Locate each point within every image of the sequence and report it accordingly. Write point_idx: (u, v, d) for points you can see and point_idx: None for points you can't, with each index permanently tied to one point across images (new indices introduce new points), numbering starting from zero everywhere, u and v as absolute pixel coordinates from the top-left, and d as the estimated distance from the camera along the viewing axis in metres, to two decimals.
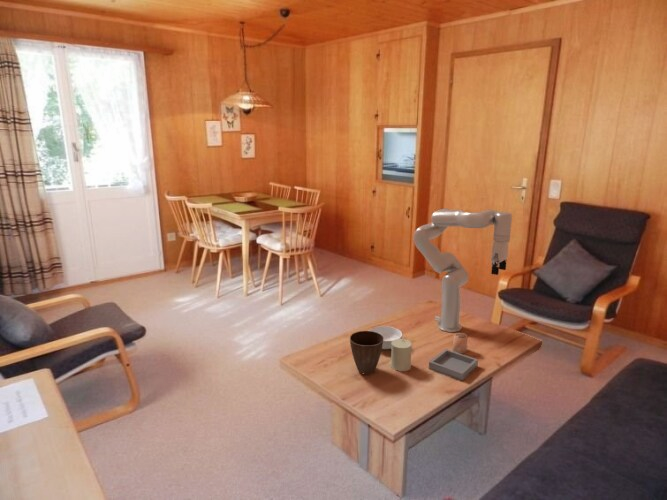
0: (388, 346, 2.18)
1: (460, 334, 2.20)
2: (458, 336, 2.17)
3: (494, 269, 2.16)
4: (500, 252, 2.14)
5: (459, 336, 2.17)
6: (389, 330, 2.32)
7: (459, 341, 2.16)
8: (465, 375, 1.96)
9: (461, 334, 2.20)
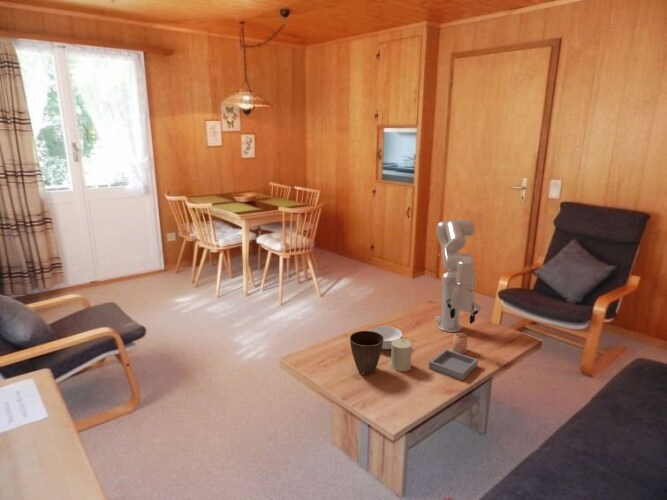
0: (388, 346, 2.18)
1: (460, 334, 2.20)
2: (458, 336, 2.17)
3: (474, 317, 2.11)
4: (474, 299, 2.11)
5: (459, 336, 2.17)
6: (389, 330, 2.32)
7: (459, 341, 2.16)
8: (465, 375, 1.96)
9: (461, 334, 2.20)
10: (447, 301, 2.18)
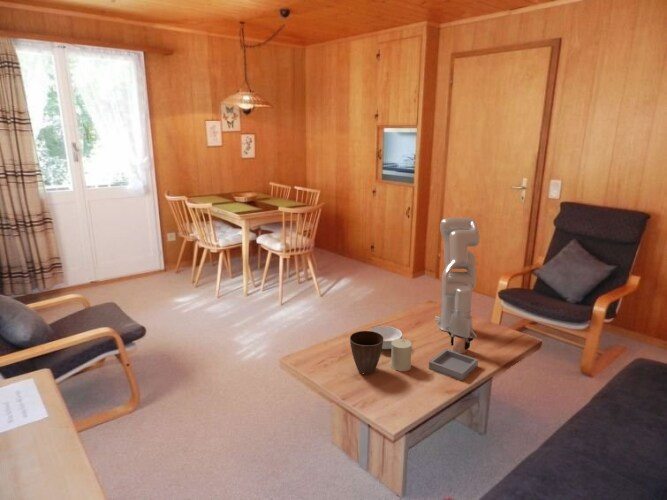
0: (388, 346, 2.18)
1: None
2: (458, 336, 2.17)
3: (469, 344, 2.16)
4: (472, 325, 2.15)
5: (459, 336, 2.17)
6: (389, 330, 2.32)
7: (459, 341, 2.16)
8: (465, 375, 1.96)
9: None
10: (447, 329, 2.22)
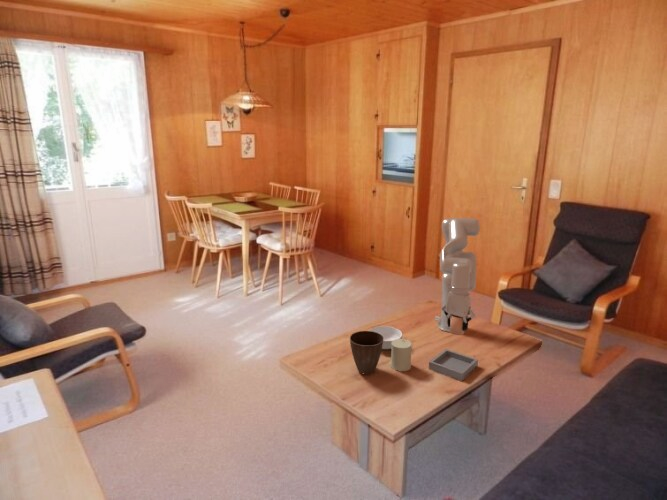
0: (388, 346, 2.18)
1: None
2: (455, 316, 2.01)
3: (467, 324, 2.00)
4: (470, 304, 1.99)
5: (456, 316, 2.01)
6: (389, 330, 2.32)
7: (456, 321, 1.99)
8: (465, 375, 1.96)
9: None
10: (443, 309, 2.05)
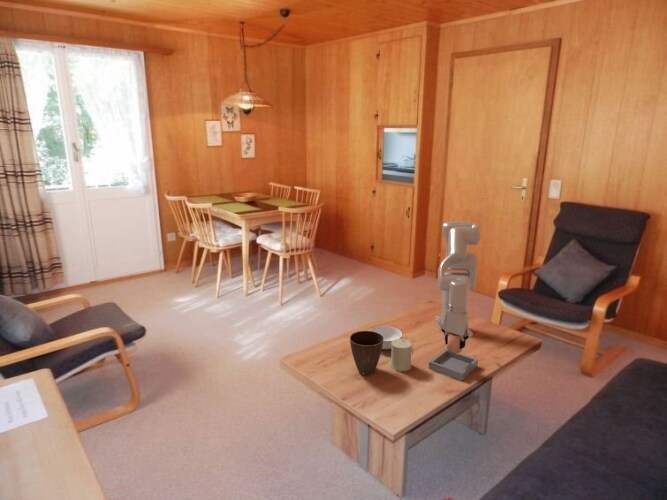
0: (388, 346, 2.18)
1: None
2: (453, 334, 1.99)
3: (464, 343, 1.98)
4: None
5: (453, 334, 1.99)
6: (389, 330, 2.32)
7: (454, 340, 1.98)
8: (465, 375, 1.96)
9: None
10: (441, 326, 2.04)
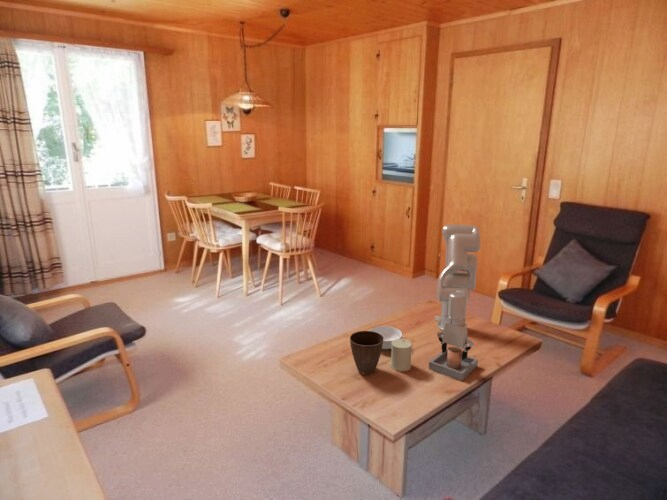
0: (388, 346, 2.18)
1: (454, 348, 2.04)
2: (452, 350, 2.02)
3: (466, 353, 1.99)
4: None
5: (453, 350, 2.02)
6: (389, 330, 2.32)
7: (453, 356, 2.00)
8: (465, 375, 1.96)
9: (455, 348, 2.04)
10: (438, 334, 2.06)
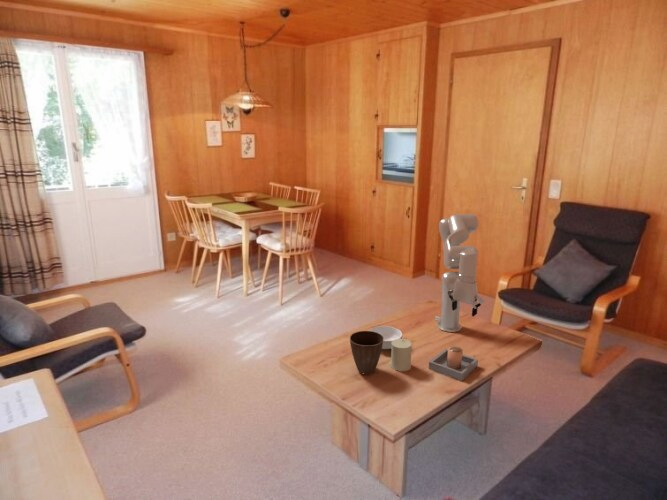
0: (388, 346, 2.18)
1: (455, 348, 2.04)
2: (452, 350, 2.02)
3: (476, 310, 2.04)
4: (477, 291, 2.03)
5: (453, 350, 2.02)
6: (389, 330, 2.32)
7: (453, 356, 2.00)
8: (465, 375, 1.96)
9: (456, 348, 2.04)
10: (449, 292, 2.10)
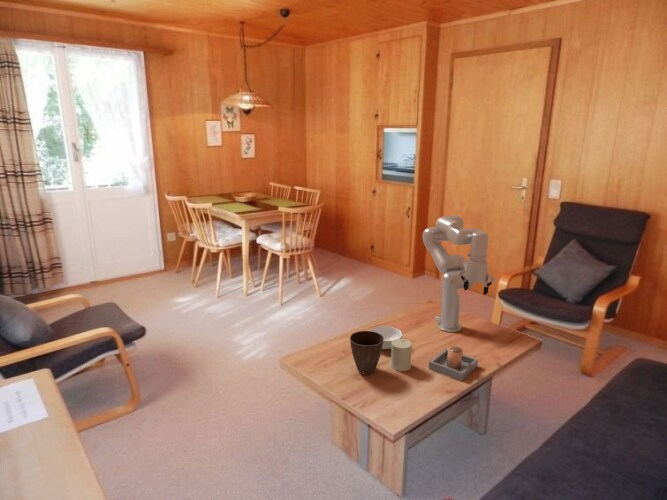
0: (388, 346, 2.18)
1: (455, 348, 2.03)
2: (452, 350, 2.01)
3: (487, 289, 2.14)
4: None
5: (453, 350, 2.01)
6: (389, 330, 2.32)
7: (453, 356, 2.00)
8: (465, 375, 1.96)
9: (456, 348, 2.03)
10: (461, 273, 2.21)
